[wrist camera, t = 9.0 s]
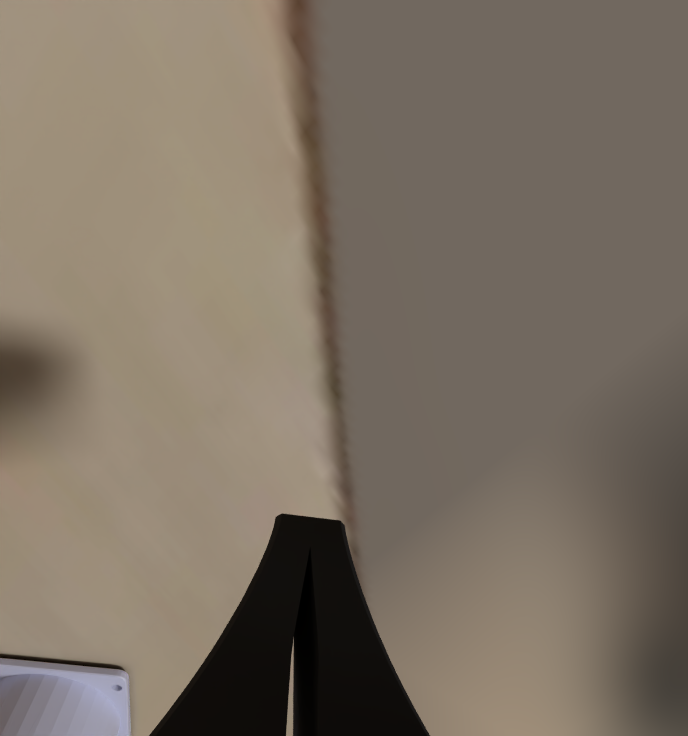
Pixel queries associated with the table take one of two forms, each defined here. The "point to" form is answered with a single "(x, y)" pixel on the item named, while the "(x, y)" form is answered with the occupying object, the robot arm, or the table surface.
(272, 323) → the table surface
